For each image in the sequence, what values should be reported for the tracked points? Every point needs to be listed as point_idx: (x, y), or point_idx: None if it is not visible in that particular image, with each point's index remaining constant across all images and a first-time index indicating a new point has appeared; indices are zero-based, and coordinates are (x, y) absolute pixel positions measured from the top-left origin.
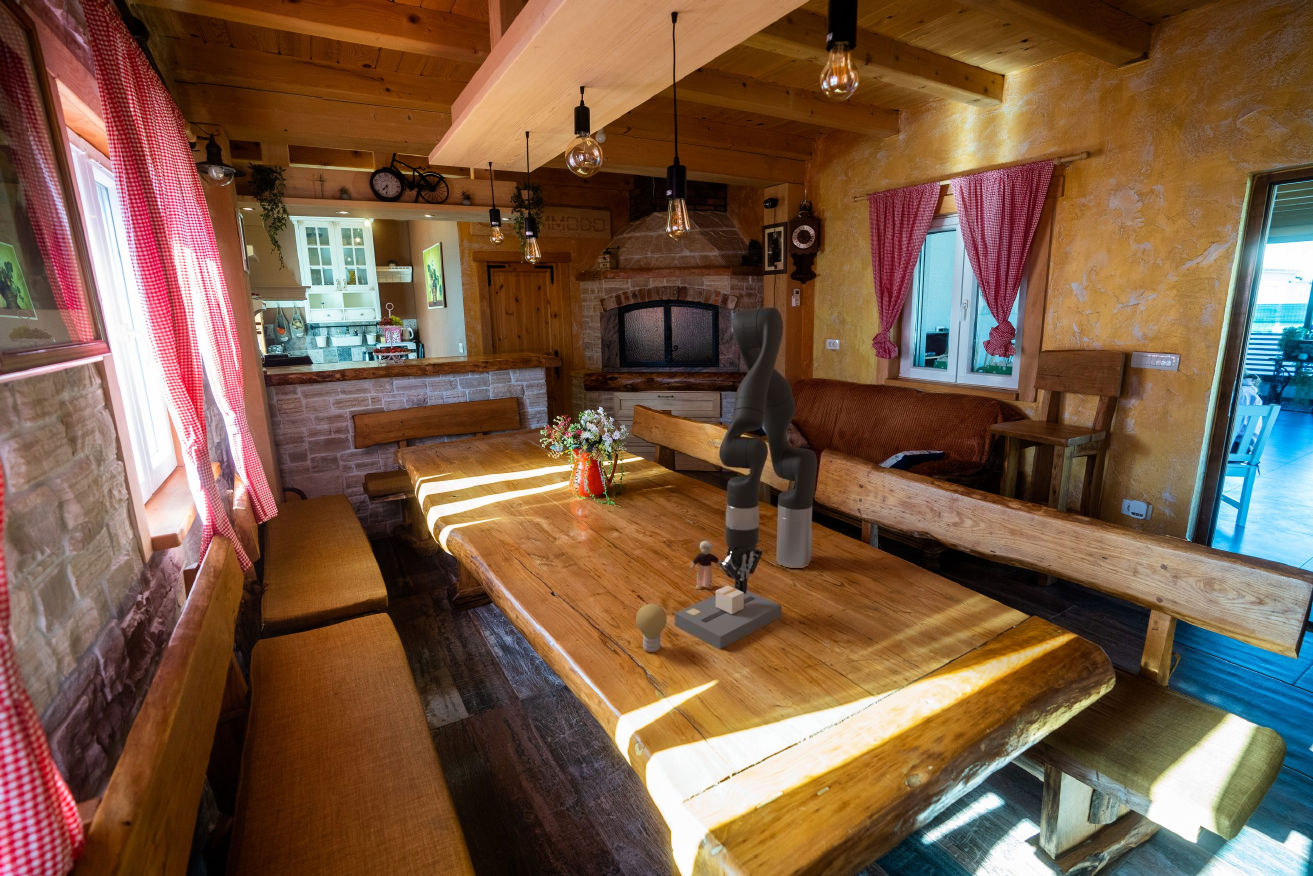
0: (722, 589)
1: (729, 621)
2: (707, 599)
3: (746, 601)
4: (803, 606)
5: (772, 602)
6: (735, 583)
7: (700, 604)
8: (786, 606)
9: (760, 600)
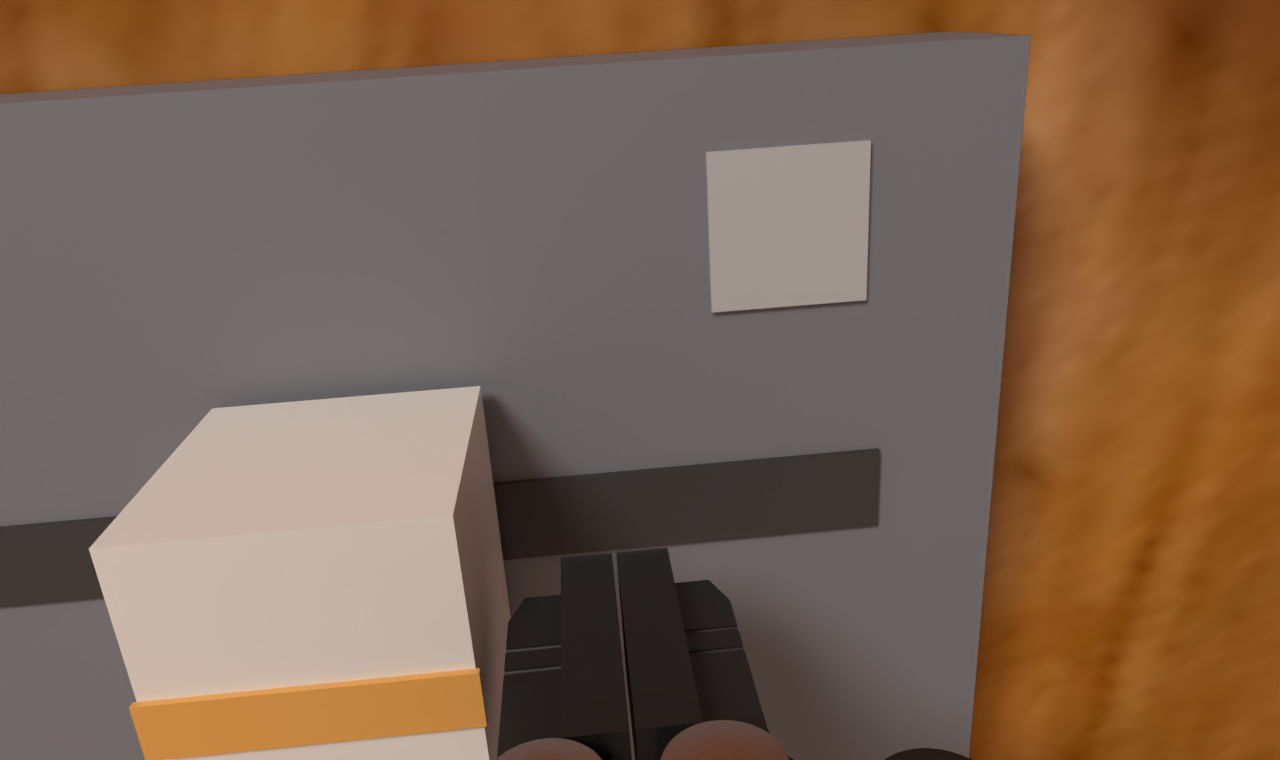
0: (245, 585)
1: None
2: (275, 109)
3: (714, 524)
4: (1257, 668)
5: (946, 703)
6: (501, 731)
7: (58, 176)
8: (1148, 578)
9: (882, 595)
